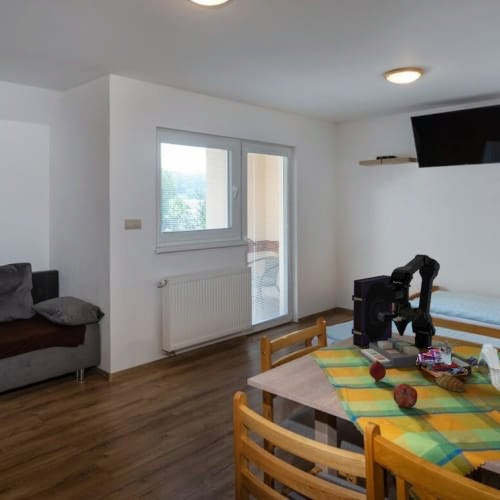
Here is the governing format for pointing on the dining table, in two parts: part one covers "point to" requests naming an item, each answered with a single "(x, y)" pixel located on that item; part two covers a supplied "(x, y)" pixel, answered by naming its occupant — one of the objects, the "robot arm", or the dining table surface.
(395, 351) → the key terracotta
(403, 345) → the key sage
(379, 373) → the onion
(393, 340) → the key slate
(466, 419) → the dining table surface
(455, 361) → the calculator
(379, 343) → the light grey key
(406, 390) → the pomegranate
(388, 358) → the keypad console
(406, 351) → the key sand
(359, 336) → the book
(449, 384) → the pastry
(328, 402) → the dining table surface
